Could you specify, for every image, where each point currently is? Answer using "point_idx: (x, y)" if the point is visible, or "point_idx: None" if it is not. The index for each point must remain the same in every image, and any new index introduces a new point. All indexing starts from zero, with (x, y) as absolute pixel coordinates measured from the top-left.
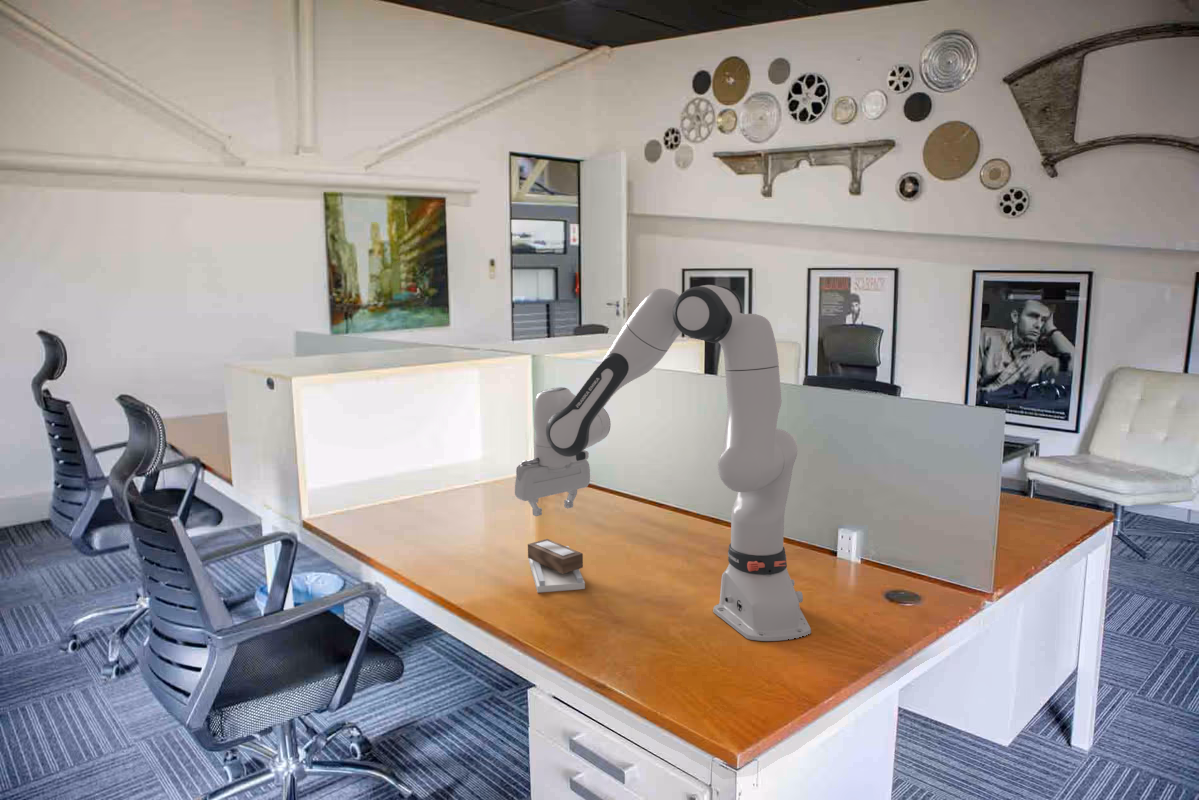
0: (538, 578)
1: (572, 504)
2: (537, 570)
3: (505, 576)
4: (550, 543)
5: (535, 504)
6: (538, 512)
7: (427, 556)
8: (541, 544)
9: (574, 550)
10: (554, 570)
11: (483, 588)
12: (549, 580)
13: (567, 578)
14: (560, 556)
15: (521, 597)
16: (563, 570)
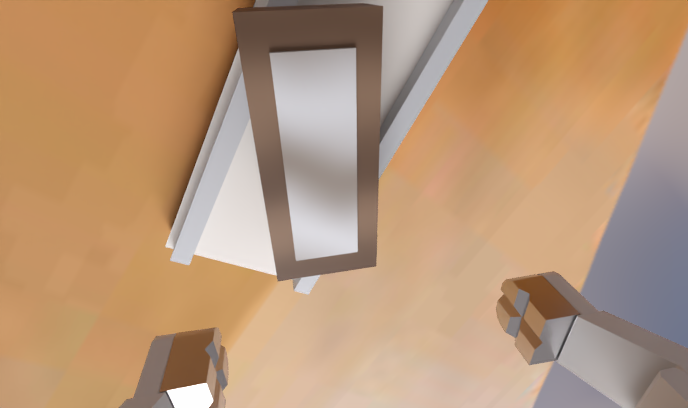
0: (461, 40)
1: (157, 357)
2: (416, 110)
3: (438, 197)
4: (303, 227)
5: (671, 349)
6: (560, 290)
7: (474, 369)
8: (342, 234)
9: (249, 89)
10: None
11: (538, 155)
12: (411, 25)
13: None
14: (364, 56)
15: (528, 10)
16: (363, 3)
